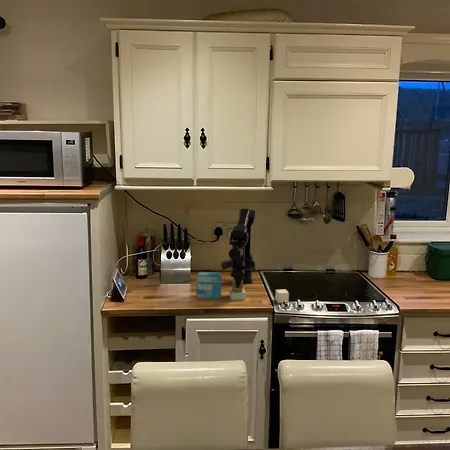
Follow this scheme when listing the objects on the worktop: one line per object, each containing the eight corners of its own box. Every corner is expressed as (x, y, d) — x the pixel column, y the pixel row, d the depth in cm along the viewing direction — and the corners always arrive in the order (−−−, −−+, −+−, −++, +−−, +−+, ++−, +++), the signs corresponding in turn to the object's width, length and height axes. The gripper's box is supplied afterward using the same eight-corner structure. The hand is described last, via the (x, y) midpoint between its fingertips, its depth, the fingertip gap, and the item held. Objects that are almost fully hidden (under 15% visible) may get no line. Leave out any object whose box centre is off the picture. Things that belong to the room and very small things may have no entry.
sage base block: (229, 295, 231) (229, 288, 230) (243, 295, 232) (243, 287, 231) (231, 300, 224) (231, 293, 224) (245, 300, 225) (245, 292, 225)
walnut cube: (232, 288, 230) (232, 278, 229) (242, 288, 230) (242, 279, 229) (231, 291, 225) (232, 281, 224) (242, 292, 225) (242, 282, 224)
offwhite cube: (275, 299, 227) (275, 289, 226) (285, 299, 228) (285, 289, 227) (278, 303, 222) (278, 293, 221) (288, 302, 223) (288, 292, 222)
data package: (196, 298, 226) (196, 274, 224) (196, 295, 230) (197, 272, 228) (220, 299, 226) (221, 275, 223) (221, 296, 230) (221, 272, 228)
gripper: (223, 249, 234) (222, 279, 237) (220, 259, 215) (219, 291, 218) (245, 250, 233) (244, 280, 236) (244, 260, 215) (243, 292, 218)
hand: (237, 285), depth 227 cm, fingers open, 6 cm apart
